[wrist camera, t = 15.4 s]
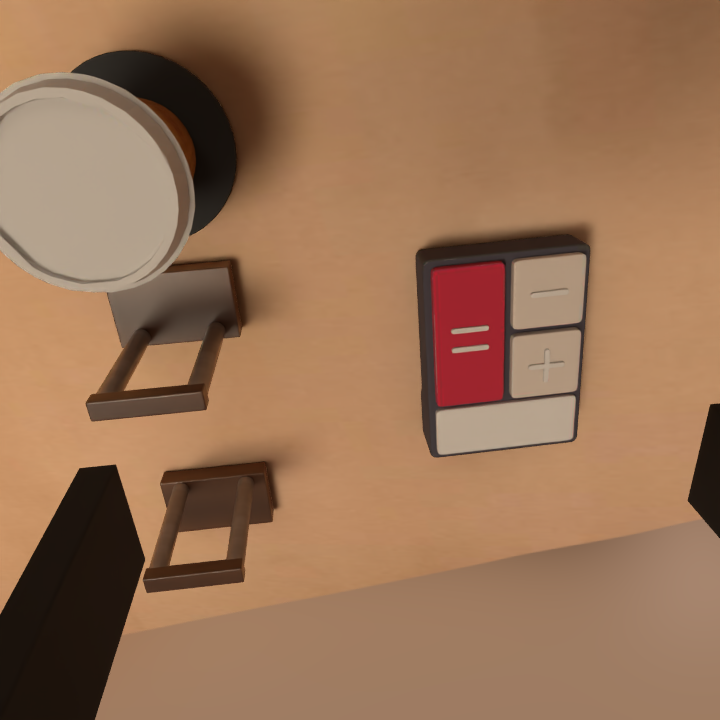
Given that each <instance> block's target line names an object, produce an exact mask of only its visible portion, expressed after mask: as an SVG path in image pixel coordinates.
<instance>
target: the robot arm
mask: <svg viewBox="0 0 720 720" xmlns="http://www.w3.org/2000/svg"><path fill="white" fill-rule="evenodd" d="M688 502H689V503H690V504H691V505H692V506H693V508H694V509H695V510H696V511H697V512H698V513H699V515H700V516H701V517H702V518H703V519H704V520H705V522H706V523H707V524H708V525H709V526H710V527H711V529H712V530H713V531H714V532H715V533H716V534H717V536H718V537H719V538H720V404H710V408H709V412H708V416H707V421H706V425H705V429H704V433H703V438H702V442H701V446H700V450H699V455H698V459H697V463H696V467H695V472H694V476H693V480H692V484H691V489H690V493H689V497H688ZM144 562H145V557H144V554H143V551H142V547H141V544H140V541H139V538H138V534H137V531H136V528H135V525H134V522H133V518H132V515H131V512H130V509H129V505H128V502H127V499H126V496H125V492H124V489H123V486H122V483H121V480H120V476H119V473H118V470H117V467H116V465H107V466H97V467H87V468H79V470H78V472H77V474H76V476H75V478H74V479H73V481H72V483H71V485H70V487H69V489H68V491H67V492H66V494H65V496H64V498H63V500H62V502H61V503H60V505H59V507H58V509H57V511H56V513H55V515H54V516H53V518H52V520H51V522H50V524H49V526H48V527H47V529H46V531H45V533H44V535H43V537H42V539H41V540H40V542H39V544H38V546H37V548H36V550H35V551H34V553H33V555H32V557H31V559H30V561H29V563H28V564H27V566H26V568H25V570H24V572H23V574H22V575H21V577H20V579H19V581H18V583H17V585H16V587H15V588H14V590H13V592H12V594H11V596H10V598H9V599H8V601H7V603H6V605H5V607H4V609H3V611H2V612H1V614H0V720H95V717H96V714H97V711H98V708H99V705H100V701H101V698H102V695H103V692H104V689H105V686H106V682H107V679H108V676H109V673H110V670H111V666H112V663H113V660H114V657H115V654H116V651H117V647H118V644H119V641H120V637H121V635H122V631H123V628H124V625H125V622H126V619H127V616H128V612H129V609H130V606H131V603H132V600H133V597H134V593H135V590H136V587H137V584H138V581H139V577H140V574H141V571H142V568H143V565H144Z"/></svg>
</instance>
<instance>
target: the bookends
mask: <svg viewBox="0 0 720 720" xmlns="http://www.w3.org/2000/svg"><path fill="white" fill-rule="evenodd" d="M107 295H108V299H109V303H110V306H111V310H112V313H113V317H114V321H115V324H116V328H117V331H118V335H119V339H120V342H121V346H122V348H124V349H123V351H122V352H121V354H120V355H119V357H118V359H117V360H116V362H115V364H114V365H113V367H112V369H111V370H110V372H109V374H108V375H107V377H106V378H105V380H104V382H103V383H102V385H101V387H100V388H99V390H98V392H97V393H96V394H92V395H90V397H89V398H88V400H87V402H86V407H87V410H88V413H89V416H90V419H91V421H102V420H112V419H122V418H132V417H142V416H152V415H162V414H171V413H181V412H191V411H201V410H206V409H207V405H208V402H209V399H208V391H209V388H210V384H211V381H212V377H213V374H214V370H215V367H216V363H217V359H218V356H219V352H220V349H221V345H222V342H223V338H232V337H240V335H241V330H242V324H241V318H240V313H239V307H238V301H237V295H236V290H235V284H234V278H233V272H232V266H231V261H230V260H227V261H216V262H205V263H194V264H183V265H172V266H169V267H168V268H167V269H166V270H165V271H164V272H162V273H161V274H159V275H158V276H157V277H155V278H154V279H152V280H151V281H149V282H146V283H144V284H142V285H140V286H137V287H135V288H131V289H126V290H121V291H117V292H107ZM201 340H203V342H202V345H201V348H200V350H199V353H198V356H197V359H196V362H195V365H194V367H193V370H192V373H191V376H190V379H189V382H188V385H181V386H171V387H160V388H150V389H140V390H130V391H124V389H125V387H126V386H127V384H128V382H129V380H130V378H131V376H132V374H133V372H134V371H135V369H136V367H137V365H138V363H139V361H140V359H141V357H142V356H143V354H144V352H145V350H146V348H147V346H149V345H159V344H170V343H180V342H190V341H201ZM160 485H161V489H162V493H163V496H164V500H165V503H166V507H167V510H166V514H165V517H164V520H163V524H162V527H161V530H160V534H159V537H158V540H157V543H156V547H155V550H154V553H153V557H152V560H151V563H150V567H149V568H147V569H146V571H145V574H144V577H143V582H144V586H145V589H146V592H147V593H151V592H160V591H169V590H178V589H187V588H196V587H204V586H213V585H222V584H231V583H240V582H244V577H245V567H244V563H245V555H246V546H247V538H248V529H249V524H258V523H267V522H273V511H274V509H273V504H272V498H271V492H270V486H269V481H268V475H267V469H266V463H265V462H258V463H249V464H239V465H229V466H220V467H210V468H201V469H191V470H182V471H172V472H164V474H163V477H162V480H161V483H160ZM221 527H231V532H230V539H229V545H228V551H227V558H226V560H218V561H209V562H200V563H191V564H182V565H173V566H169V565H170V561H171V557H172V553H173V550H174V546H175V542H176V538H177V534H178V532H185V531H194V530H203V529H212V528H221Z"/></svg>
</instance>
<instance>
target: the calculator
mask: <svg viewBox="0 0 720 720" xmlns="http://www.w3.org/2000/svg"><path fill="white" fill-rule="evenodd" d="M589 262H590V247H589V245H588V244H586V243H584V242H583V241H581V240H579V239H577V238H575V237H574V236H572V235H568V234H567V235H556V236H547V237H537V238H528V239H518V240H509V241H499V242H490V243H480V244H471V245H461V246H452V247H442V248H433V249H424V250H420V251H418V252H417V254H416V276H417V296H418V316H419V337H420V357H421V377H422V391H421V400H422V420H423V432H424V435H425V438H426V441H427V444H428V447H429V450H430V453H431V455H432V456H433V457H446V456H455V455H464V454H472V453H481V452H489V451H498V450H506V449H515V448H523V447H532V446H541V445H549V444H558V443H566V442H572V441H574V440H575V439H576V437H577V427H578V414H579V400H580V386H581V372H582V358H583V345H584V331H585V317H586V303H587V289H588V276H589Z"/></svg>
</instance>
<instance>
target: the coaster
mask: <svg viewBox="0 0 720 720" xmlns="http://www.w3.org/2000/svg"><path fill="white" fill-rule="evenodd" d="M71 73H76V74H84V75H89V76H93V77H96V78H99V79H102V80H105V81H107V82H109V83H112V84H114V85H116V86H118V87H121V88H123V89H125V90H127V91H128V92H130V93H131V94H132V95H134V96H135V97H138V98H142V99H147V100H151V101H154V102H156V103H158V104H160V105H162V106H164V107H165V108H167V109H168V110H170V111H171V112H173V113H174V114H175V115H176V116H177V117H178V118H179V119H180V121H181V122H182V123H183V125H184V126H185V127H186V129H187V131H188V133H189V135H190V137H191V139H192V141H193V145H194V148H195V156H196V166H195V173H194V177H193V183H194V194H195V212H194V217H193V223H192V228H191V231H190V234H189V236H190V235H192V234H194V233H196V232H197V231H199V230H201V229H202V228H204V227H205V226H206V225H207V224H208V223H210V222H211V221H212V220H213V219H214V218H215V217H216V215H217V214H218V213H219V212H220V210H221V209H222V207H223V206H224V204H225V203H226V201H227V198H228V196H229V194H230V192H231V189H232V186H233V183H234V179H235V173H236V158H237V157H236V146H235V141H234V136H233V132H232V129H231V126H230V123H229V120H228V118H227V116H226V114H225V112H224V110H223V108H222V107H221V105H220V104H219V102H218V100H217V99H216V97H215V96H214V95H213V94H212V92H211V91H210V90H209V89H208V88H207V86H206V85H205V84H204V83H203V82H201V81H200V80H199V79H198V78H197V77H196V76H195V75H193V74H192V73H191V72H190V71H188V70H187V69H185V68H184V67H182V66H180V65H179V64H177V63H175V62H173V61H171V60H169V59H166V58H164V57H162V56H158V55H154V54H151V53H146V52H139V51H117V52H110V53H105V54H102V55H99V56H96V57H94V58H92V59H89V60H87V61H85V62H84V63H82V64H81V65H79V66H78V67H77V68H75V69H74V70H73V71H72V72H71Z"/></svg>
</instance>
